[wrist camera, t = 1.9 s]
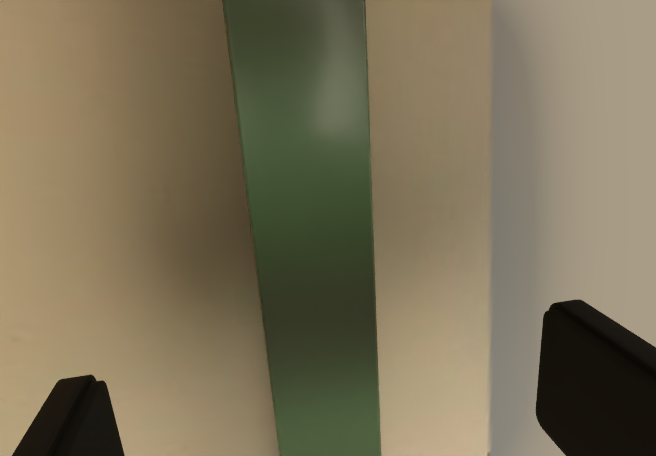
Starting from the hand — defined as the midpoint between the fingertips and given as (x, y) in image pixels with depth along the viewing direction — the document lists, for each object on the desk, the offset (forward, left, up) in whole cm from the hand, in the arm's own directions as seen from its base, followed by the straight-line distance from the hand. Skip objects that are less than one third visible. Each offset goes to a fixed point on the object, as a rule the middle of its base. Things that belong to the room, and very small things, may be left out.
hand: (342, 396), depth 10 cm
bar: (-1, 0, -7) cm, 7 cm away
